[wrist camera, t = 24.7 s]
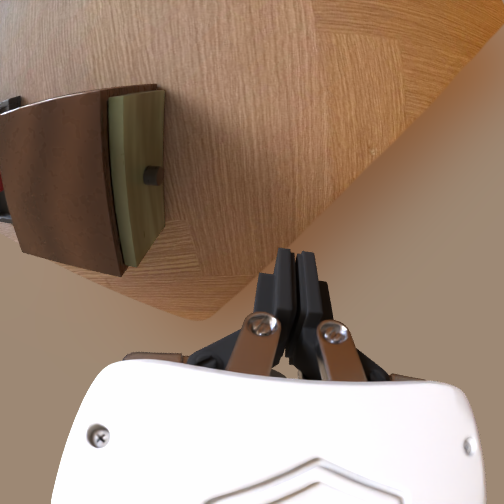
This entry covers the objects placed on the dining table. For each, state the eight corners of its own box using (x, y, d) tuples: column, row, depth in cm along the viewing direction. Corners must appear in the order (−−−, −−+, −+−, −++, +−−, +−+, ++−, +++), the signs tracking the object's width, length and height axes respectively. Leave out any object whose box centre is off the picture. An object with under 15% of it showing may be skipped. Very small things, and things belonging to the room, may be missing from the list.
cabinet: (157, 83, 19) (100, 90, 12) (158, 225, 28) (121, 277, 21) (51, 98, 20) (-7, 116, 12) (65, 213, 28) (22, 252, 21)
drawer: (178, 89, 19) (139, 94, 13) (176, 228, 27) (150, 270, 21) (59, 101, 19) (12, 116, 14) (72, 214, 27) (37, 246, 21)
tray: (37, 219, 29) (28, 227, 27) (2, 213, 29) (-6, 220, 27) (20, 95, 19) (8, 99, 17) (-15, 109, 19) (-25, 113, 17)
